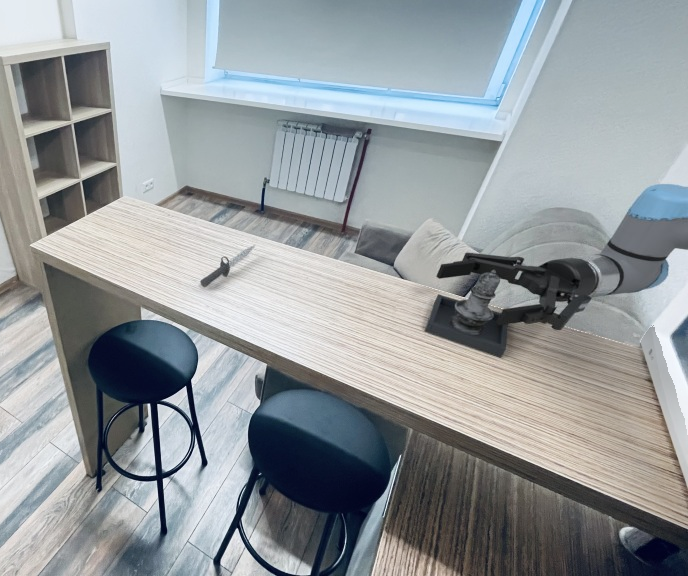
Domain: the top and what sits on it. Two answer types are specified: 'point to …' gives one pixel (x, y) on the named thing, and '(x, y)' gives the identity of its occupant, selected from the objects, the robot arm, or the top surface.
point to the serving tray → (487, 341)
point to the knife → (225, 267)
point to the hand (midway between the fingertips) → (468, 292)
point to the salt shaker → (476, 305)
